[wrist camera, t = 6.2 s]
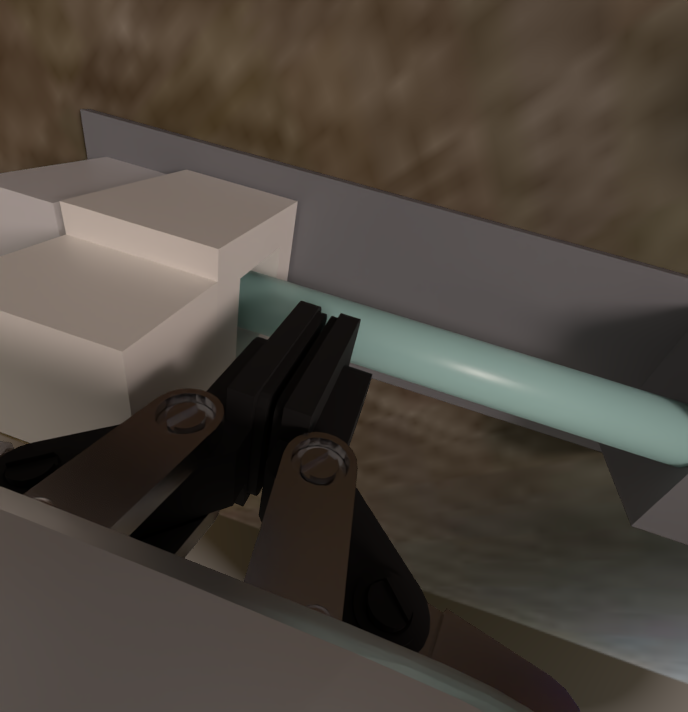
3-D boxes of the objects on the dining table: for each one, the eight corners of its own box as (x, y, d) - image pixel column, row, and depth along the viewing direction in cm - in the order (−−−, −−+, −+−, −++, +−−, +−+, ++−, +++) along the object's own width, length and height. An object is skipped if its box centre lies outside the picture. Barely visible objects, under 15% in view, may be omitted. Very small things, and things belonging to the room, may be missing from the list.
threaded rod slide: (821, 312, 12) (1025, 432, 7) (664, 466, 16) (739, 602, 11) (89, 108, 14) (-77, 112, 10) (114, 289, 18) (5, 348, 14)
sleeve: (297, 201, 13) (116, 310, 6) (280, 332, 16) (144, 504, 9) (186, 169, 14) (-100, 239, 7) (189, 303, 16) (-7, 448, 10)
